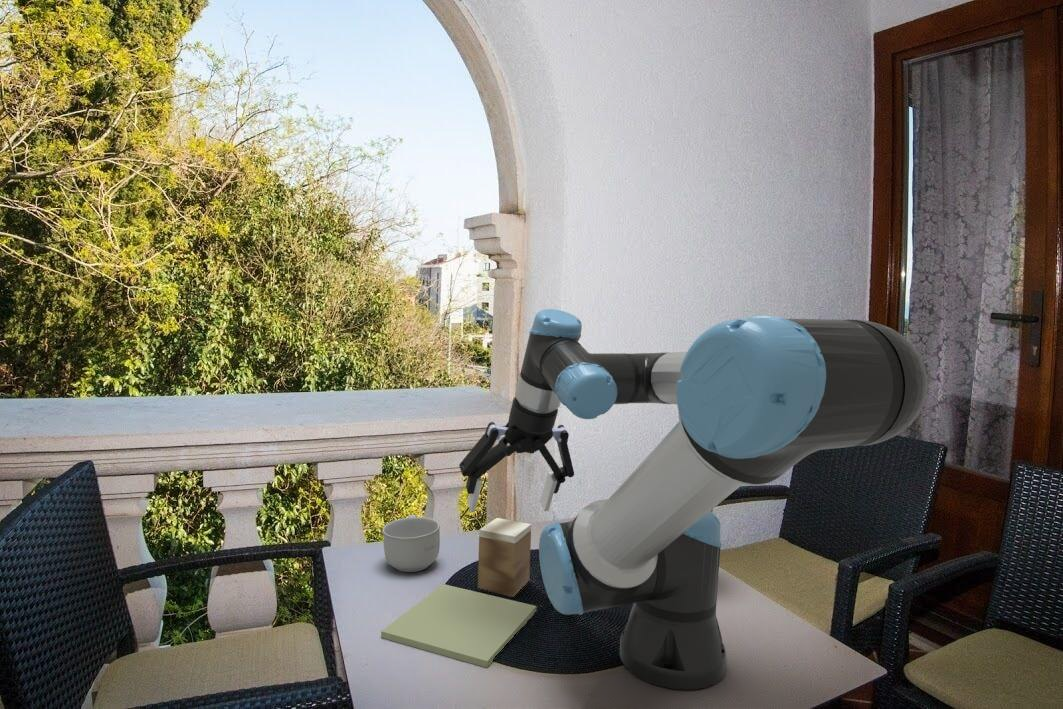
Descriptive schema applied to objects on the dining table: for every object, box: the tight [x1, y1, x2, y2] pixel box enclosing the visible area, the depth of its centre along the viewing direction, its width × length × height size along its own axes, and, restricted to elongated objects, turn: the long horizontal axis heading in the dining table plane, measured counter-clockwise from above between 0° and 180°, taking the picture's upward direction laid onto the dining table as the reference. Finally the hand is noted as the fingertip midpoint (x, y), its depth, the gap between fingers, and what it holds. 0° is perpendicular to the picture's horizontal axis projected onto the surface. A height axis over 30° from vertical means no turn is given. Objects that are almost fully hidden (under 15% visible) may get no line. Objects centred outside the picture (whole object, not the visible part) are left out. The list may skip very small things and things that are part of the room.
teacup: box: [381, 514, 441, 573], centre depth 124 cm, size 14×11×8 cm
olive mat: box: [380, 583, 537, 668], centre depth 102 cm, size 18×18×1 cm
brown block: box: [477, 517, 532, 598], centre depth 115 cm, size 7×7×11 cm
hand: (508, 506), depth 112 cm, fingers open, 13 cm apart
